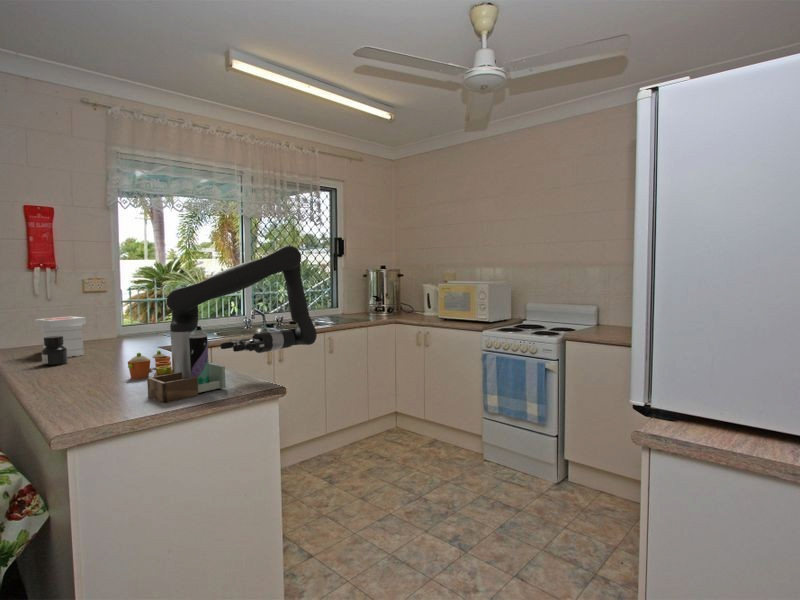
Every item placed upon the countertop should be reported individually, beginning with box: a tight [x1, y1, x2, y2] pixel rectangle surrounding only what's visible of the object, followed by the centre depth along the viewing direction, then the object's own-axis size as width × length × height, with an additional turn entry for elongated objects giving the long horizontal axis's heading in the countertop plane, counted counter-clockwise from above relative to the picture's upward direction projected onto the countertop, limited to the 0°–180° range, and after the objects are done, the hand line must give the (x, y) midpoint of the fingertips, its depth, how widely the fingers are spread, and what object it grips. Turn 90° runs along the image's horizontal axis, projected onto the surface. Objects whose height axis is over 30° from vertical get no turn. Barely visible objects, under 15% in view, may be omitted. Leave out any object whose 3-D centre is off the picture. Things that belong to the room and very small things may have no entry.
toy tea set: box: [127, 350, 173, 380], centre depth 181 cm, size 26×16×10 cm, turn 27°
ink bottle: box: [41, 336, 69, 367], centre depth 201 cm, size 10×9×12 cm
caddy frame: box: [146, 372, 199, 404], centre depth 146 cm, size 12×10×6 cm
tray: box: [198, 361, 227, 394], centre depth 153 cm, size 12×10×7 cm
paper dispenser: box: [34, 315, 87, 358], centre depth 226 cm, size 19×30×18 cm, turn 39°
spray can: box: [189, 325, 209, 385], centre depth 152 cm, size 6×6×20 cm
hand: (227, 347), depth 159 cm, fingers open, 8 cm apart
